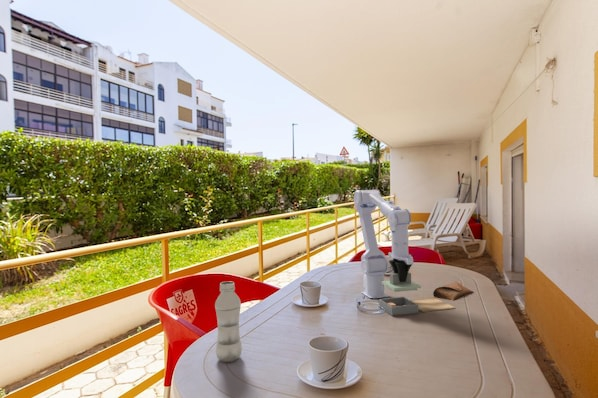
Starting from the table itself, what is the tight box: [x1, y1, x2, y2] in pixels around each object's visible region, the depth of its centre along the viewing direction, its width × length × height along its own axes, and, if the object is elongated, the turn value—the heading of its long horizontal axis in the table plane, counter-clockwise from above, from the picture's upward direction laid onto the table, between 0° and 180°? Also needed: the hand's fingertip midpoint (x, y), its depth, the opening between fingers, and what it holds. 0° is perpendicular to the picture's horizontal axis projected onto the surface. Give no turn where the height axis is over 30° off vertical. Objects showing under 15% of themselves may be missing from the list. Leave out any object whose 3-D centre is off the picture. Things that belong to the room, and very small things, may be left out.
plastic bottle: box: [214, 281, 243, 363], centre depth 92 cm, size 6×7×20 cm
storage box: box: [378, 296, 419, 317], centre depth 126 cm, size 10×10×3 cm
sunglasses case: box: [432, 280, 474, 302], centre depth 144 cm, size 18×7×7 cm
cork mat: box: [410, 296, 456, 313], centre depth 131 cm, size 13×13×1 cm
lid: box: [382, 272, 422, 293], centre depth 127 cm, size 10×10×5 cm
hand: (400, 280), depth 127 cm, fingers closed on lid, 2 cm apart
